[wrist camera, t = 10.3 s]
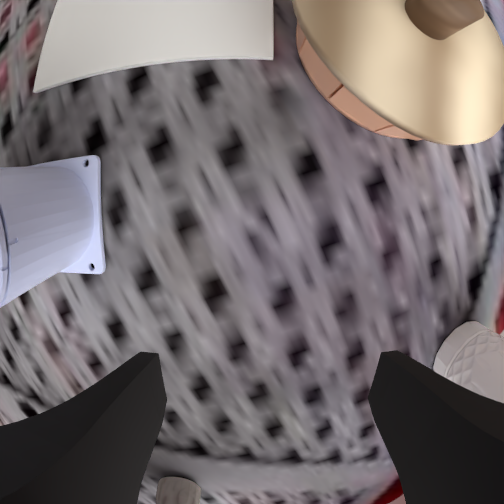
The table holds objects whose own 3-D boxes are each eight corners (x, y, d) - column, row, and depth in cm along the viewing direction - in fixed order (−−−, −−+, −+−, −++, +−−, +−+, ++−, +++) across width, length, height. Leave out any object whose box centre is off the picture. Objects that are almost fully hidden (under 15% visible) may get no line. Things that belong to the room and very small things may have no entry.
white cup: (415, 388, 22) (464, 459, 12) (445, 315, 20) (519, 377, 10) (467, 378, 22) (516, 431, 12) (495, 313, 20) (558, 358, 10)
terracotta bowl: (296, 125, 16) (315, 105, 11) (292, -25, 13) (303, -65, 8) (458, 153, 17) (503, 151, 12) (439, 15, 13) (470, -6, 9)
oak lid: (303, 130, 12) (333, 106, 7) (279, -73, 8) (286, -117, 4) (514, 161, 12) (562, 165, 7) (469, -16, 8) (500, -36, 4)
